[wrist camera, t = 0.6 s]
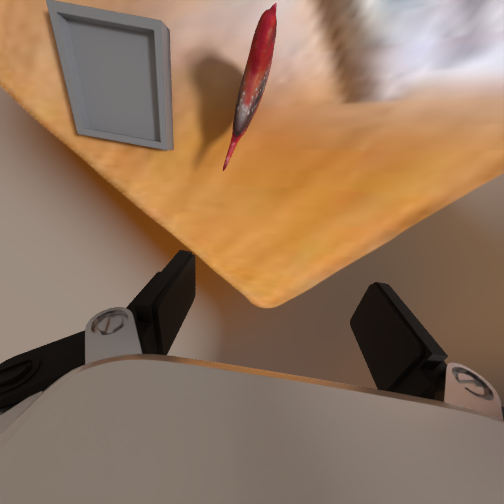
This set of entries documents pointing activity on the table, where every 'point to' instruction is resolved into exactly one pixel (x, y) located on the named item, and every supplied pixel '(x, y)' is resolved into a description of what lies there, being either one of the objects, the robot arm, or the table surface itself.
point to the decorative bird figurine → (254, 76)
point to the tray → (116, 73)
